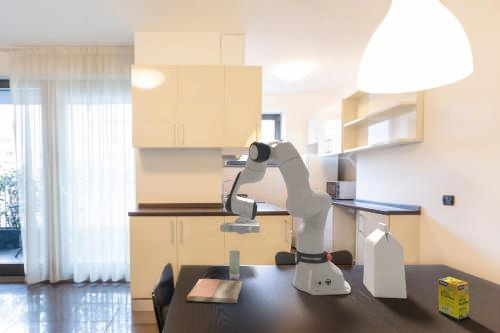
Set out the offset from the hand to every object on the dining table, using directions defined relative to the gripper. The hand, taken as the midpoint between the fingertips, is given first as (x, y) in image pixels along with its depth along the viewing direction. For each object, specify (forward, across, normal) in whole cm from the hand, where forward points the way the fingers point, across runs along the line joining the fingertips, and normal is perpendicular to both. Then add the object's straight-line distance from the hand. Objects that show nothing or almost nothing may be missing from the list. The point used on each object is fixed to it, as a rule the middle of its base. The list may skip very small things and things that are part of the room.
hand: (238, 230), depth 126 cm
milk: (+17, +60, +18) cm, 65 cm away
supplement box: (+34, +75, +18) cm, 85 cm away
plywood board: (+25, -5, +18) cm, 32 cm away
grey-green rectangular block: (+12, 0, +18) cm, 22 cm away
